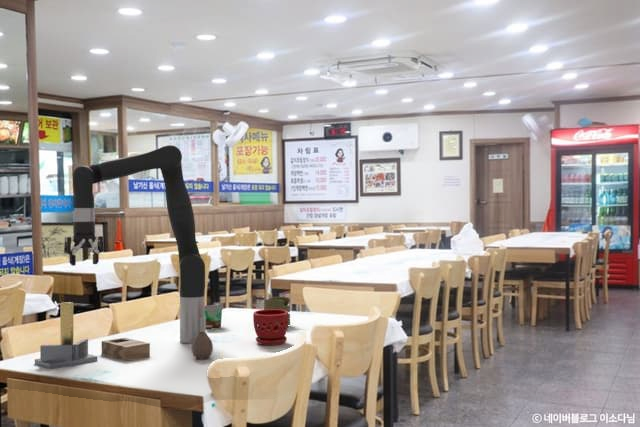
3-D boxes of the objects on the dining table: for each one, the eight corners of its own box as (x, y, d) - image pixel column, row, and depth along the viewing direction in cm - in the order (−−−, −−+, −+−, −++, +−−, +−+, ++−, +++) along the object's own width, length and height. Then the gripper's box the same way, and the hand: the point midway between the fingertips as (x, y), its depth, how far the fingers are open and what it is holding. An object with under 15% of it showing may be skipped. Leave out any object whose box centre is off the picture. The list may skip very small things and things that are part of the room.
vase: (203, 361, 222) (202, 334, 222) (187, 359, 225) (187, 332, 225) (217, 357, 227) (216, 331, 227) (201, 355, 231) (201, 329, 231)
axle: (75, 356, 223) (75, 302, 223) (71, 359, 219) (70, 303, 219) (63, 356, 223) (62, 302, 223) (58, 359, 219) (58, 303, 219)
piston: (258, 299, 289) (274, 296, 299) (258, 326, 289) (274, 323, 299) (279, 300, 283) (295, 297, 293) (279, 329, 283) (295, 325, 293)
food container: (217, 330, 282) (217, 306, 282) (203, 329, 283) (203, 305, 283) (227, 325, 294) (227, 302, 294) (214, 325, 295) (214, 302, 295)
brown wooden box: (101, 354, 234) (101, 341, 234) (124, 350, 240) (124, 337, 240) (126, 360, 223) (126, 347, 223) (149, 356, 229) (149, 343, 229)
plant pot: (248, 341, 255) (248, 310, 255) (281, 339, 261) (281, 308, 261) (259, 347, 243) (259, 314, 243) (293, 345, 249) (293, 312, 249)
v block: (98, 361, 223) (98, 341, 223) (50, 369, 211) (50, 348, 211) (81, 356, 231) (81, 337, 231) (34, 364, 219) (34, 344, 219)
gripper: (70, 220, 239) (70, 266, 239) (107, 220, 250) (107, 264, 250) (60, 220, 244) (60, 265, 244) (97, 220, 255) (97, 263, 255)
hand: (84, 264), depth 247 cm, fingers open, 8 cm apart
